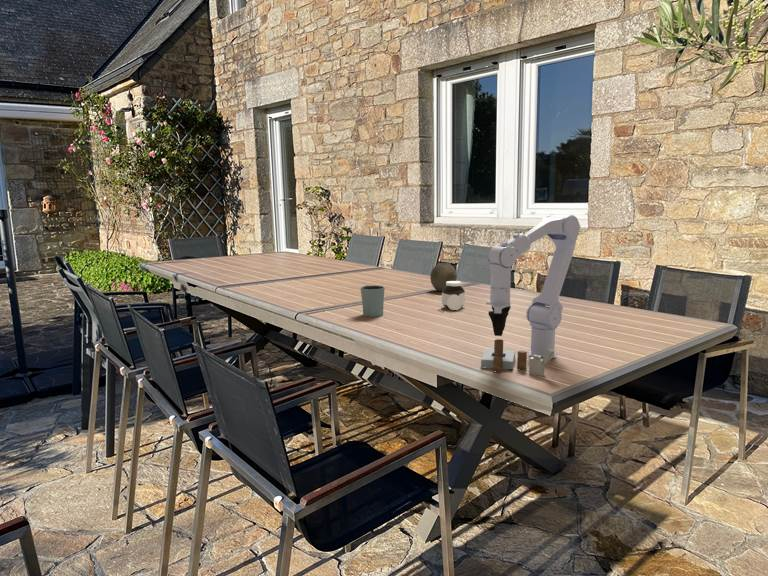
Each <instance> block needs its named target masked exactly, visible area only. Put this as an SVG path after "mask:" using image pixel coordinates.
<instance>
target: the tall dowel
mask: <svg viewBox="0 0 768 576" xmlns="http://www.w3.org/2000/svg"><path fill="white" fill-rule="evenodd" d="M493 343H494V347H493V349H494V357H495V356H499V357H503V350H504V340H503V339H500V338H499V339H494V341H493Z"/></svg>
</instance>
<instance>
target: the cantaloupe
mask: <svg viewBox="0 0 768 576" xmlns="http://www.w3.org/2000/svg"><path fill="white" fill-rule="evenodd" d="M457 277H458V274H457V270H456V268H455V267H454V266H453V265H452V264H450V263H448V262H441V263H438V264H436V265H435V266H433V268H432V270H431V272H430V278H429V279H430V282H431V285H432V288H434V289H435V290H436V291H438V292H442V291H443V289H444V288H445V287H446V282H447V281H457V279H458V278H457Z"/></svg>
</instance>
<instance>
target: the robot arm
mask: <svg viewBox="0 0 768 576" xmlns="http://www.w3.org/2000/svg"><path fill="white" fill-rule="evenodd" d="M579 222H580V221H579V219H578V217H577V216H576V215H573V214H570V215H564V214H561V215H556V214H548V215H546V216H544V217H541V220H540V222H538V223H537V224H536V225H535V226H533V227H532V228H530V230H528V231H527V232H525V233H524V234H523V233H514V234H513V235H512V237H511V238H510V239H508V240H506V241H502V242H501V244H499V246H498V245H495V246H493V247H492V248H490V249H489V251H488V253H487V255H486V261H487V263H488V266H489V270H490V286H489V287H490V289H489V291H490V293H489V294H490V295H489V296H490V297H489V298H490V300H486V301H485V303H486V304H485V305H488V306H491V309H492V310H489V311H488V316H489V318H490V320H491V324H492V330H493V334H494V337H496V336H497V337H502V336H503V333H504V330H505V328H506V323H507V319H508V315H509V312H510V310H511V307H512V306H511V304H512V303H511V276H512V273H511V272H512V270H511V269H512V266H514V265H515V263H516V260H517V258H518V257H520V256H522V255H523V254H525V253H526V252H528V251H529V250H530V249H531V246H532V244H533V243H535V242H537V241H538V240H541V239H542V238H544V237H546V236H547V237H548V238H549V240H550V241H551V242H552V243H553V244H554V246H555V250H554V253H553V255H552V259H551V261H550V264H549V267H548V271H547V274H546V277H545V280H544V283H543V286H542V288H541V292H540V293H539V295H537V296H535V297H534V298H533V299H532V301H531V304H530V305H529V306H528V308H527V310H526V319H527V321H528V322H529V326H531V330H530V331H531V332H530V347H529V352H528V357H529V358H531V357H533V355H539V356H541V358H544V356H545V354H546V352H547V350H548V349H553V350H554V351H555V353H554V354H553V356H552V358H551V359H556V357H557V356H556V355H557V354H556V349H555V347H556V346H555V345H556V329H558V327H559V325H560V324H561V323H562V316H563V315H562V313H563V308H564V305H562V303H561V302H560V300H559V297H560V295H561V291H562V288H563V285H564V282H565V279H566V277H567V273H568V269H569V267H570V264H571V261H572V258H573V255H574V252H575V248H576V243H577V239H578V236H579V232H580V230H581V225H580V223H579Z"/></svg>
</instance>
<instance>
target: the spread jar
mask: <svg viewBox="0 0 768 576" xmlns="http://www.w3.org/2000/svg"><path fill="white" fill-rule="evenodd" d="M465 302H466V292H465V289H464V288H463V287H462V281H459V280H456V281H447V282H446V287H445V288H444V289H443V291H441V304H442V305H443V307H444V308H445V309H448V308H449V309H450V310H451V311H453V310H456V311H458V310H460V309H461V308H463V307H464V305H465Z"/></svg>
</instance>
